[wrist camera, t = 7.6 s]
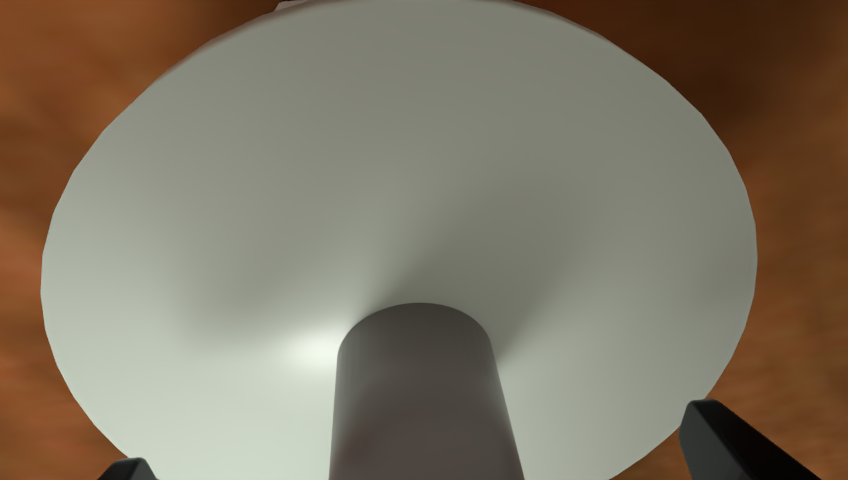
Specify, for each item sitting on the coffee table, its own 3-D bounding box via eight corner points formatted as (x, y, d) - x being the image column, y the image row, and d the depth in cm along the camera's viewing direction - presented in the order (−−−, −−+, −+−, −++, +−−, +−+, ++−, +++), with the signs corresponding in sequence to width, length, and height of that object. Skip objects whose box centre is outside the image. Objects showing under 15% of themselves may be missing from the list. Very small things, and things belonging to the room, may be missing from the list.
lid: (662, 474, 15) (768, 698, 11) (191, 525, 15) (122, 777, 11) (826, -49, 8) (1308, 46, 4) (-93, 27, 8) (-641, 220, 3)
